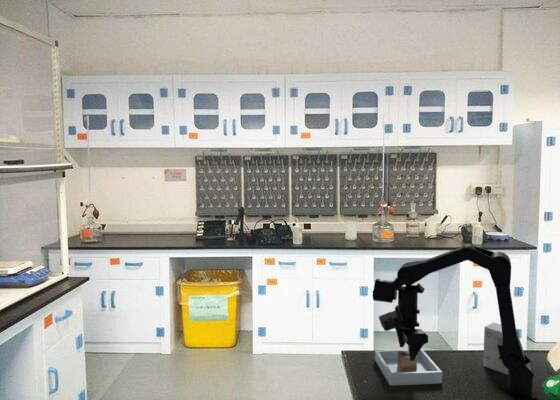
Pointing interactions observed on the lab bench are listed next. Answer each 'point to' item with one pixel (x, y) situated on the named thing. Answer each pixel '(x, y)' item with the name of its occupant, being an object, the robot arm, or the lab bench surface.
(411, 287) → the robot arm
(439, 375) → the sorting tray
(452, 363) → the lab bench surface
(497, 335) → the small box
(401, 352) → the walnut block
